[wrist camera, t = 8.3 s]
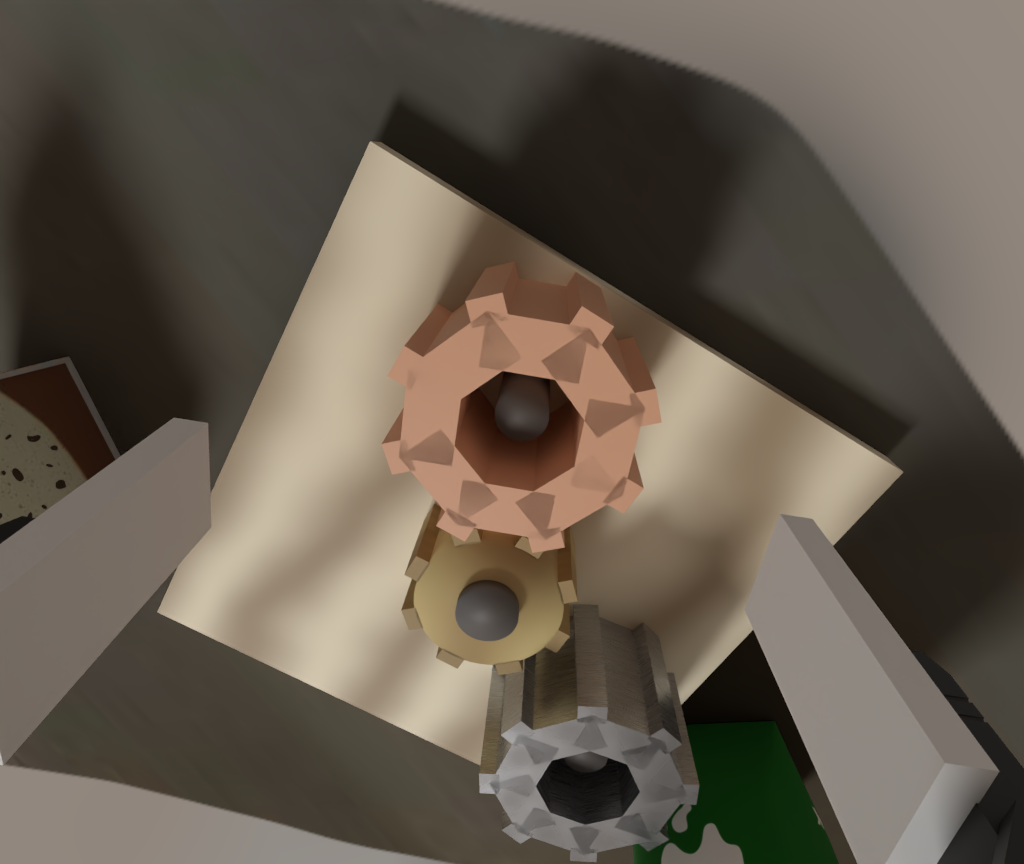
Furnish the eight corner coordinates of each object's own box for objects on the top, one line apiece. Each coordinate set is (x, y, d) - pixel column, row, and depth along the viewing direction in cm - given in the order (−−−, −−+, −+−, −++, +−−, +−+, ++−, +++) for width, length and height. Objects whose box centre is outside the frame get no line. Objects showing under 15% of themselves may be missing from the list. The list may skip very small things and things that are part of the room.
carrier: (174, 592, 33) (95, 683, 27) (381, 142, 24) (327, 137, 18) (577, 787, 36) (582, 902, 31) (886, 456, 28) (970, 532, 22)
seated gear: (470, 708, 33) (452, 820, 27) (536, 581, 29) (531, 679, 24) (622, 762, 33) (635, 882, 28) (702, 645, 30) (735, 754, 25)
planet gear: (503, 504, 28) (491, 589, 22) (377, 348, 26) (328, 401, 20) (675, 399, 26) (707, 465, 20) (553, 217, 23) (553, 236, 18)
